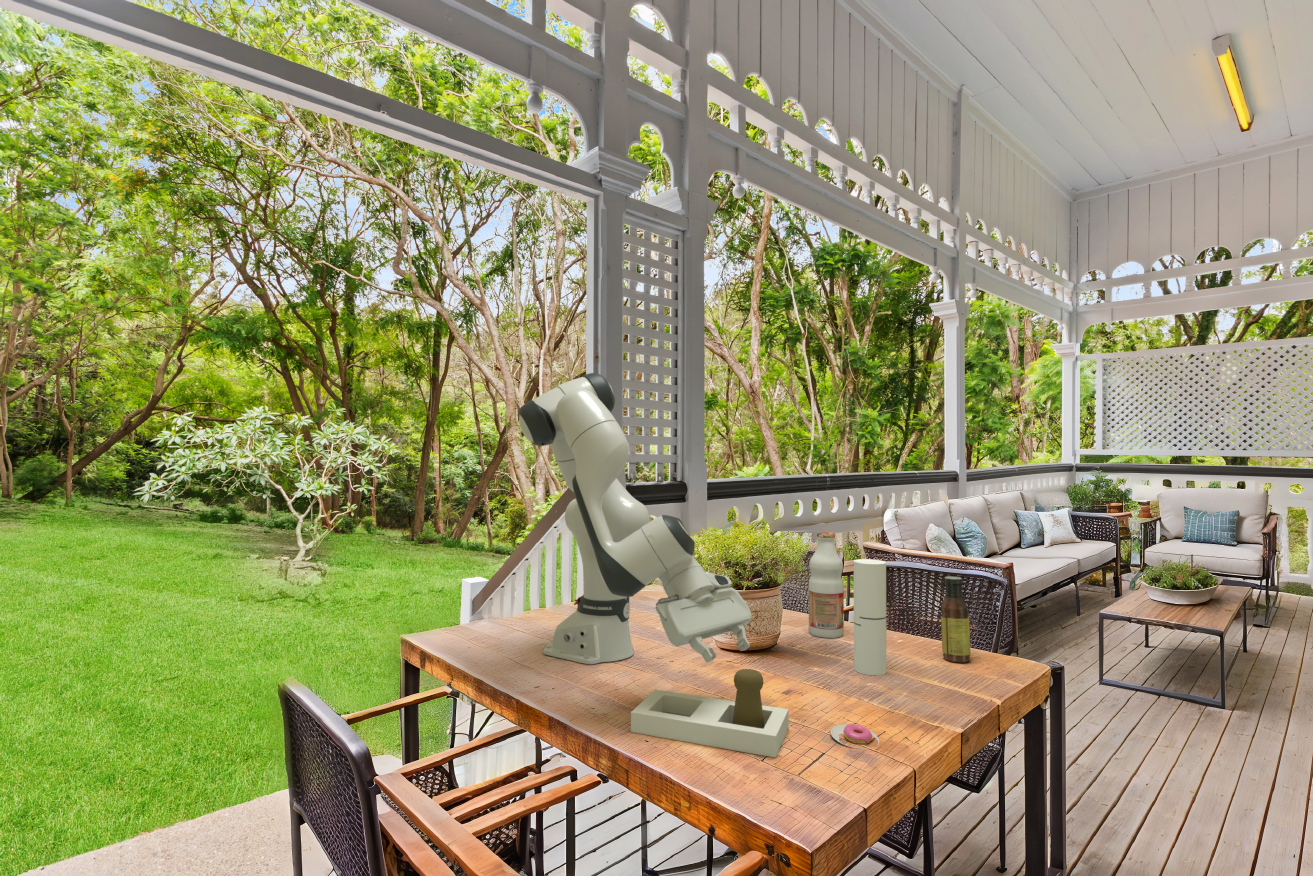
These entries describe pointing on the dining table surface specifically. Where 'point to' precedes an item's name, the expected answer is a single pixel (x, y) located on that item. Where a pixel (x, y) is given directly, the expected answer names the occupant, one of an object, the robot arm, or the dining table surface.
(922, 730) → the dining table surface
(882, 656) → the cylindrical container
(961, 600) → the sauce bottle
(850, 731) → the donut
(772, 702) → the dining table surface
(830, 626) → the fruit juice
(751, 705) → the olive knobbed peg
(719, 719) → the socket rail
